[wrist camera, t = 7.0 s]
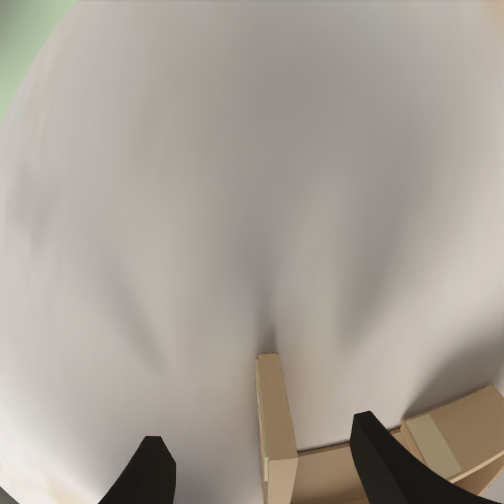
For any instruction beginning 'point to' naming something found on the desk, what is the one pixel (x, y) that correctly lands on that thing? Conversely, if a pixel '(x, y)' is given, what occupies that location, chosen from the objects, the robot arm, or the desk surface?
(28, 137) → the desk surface
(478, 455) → the flap
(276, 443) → the flap
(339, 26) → the desk surface
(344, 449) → the carton
